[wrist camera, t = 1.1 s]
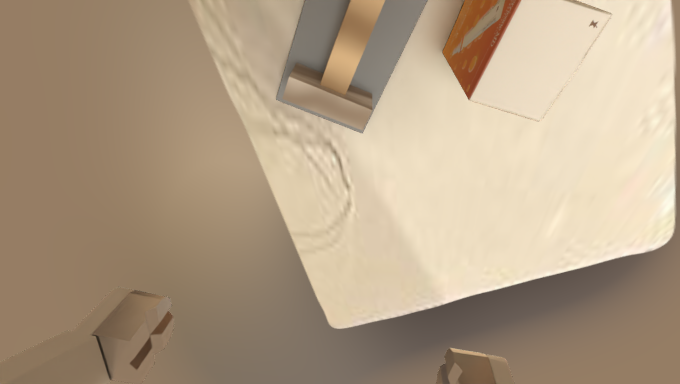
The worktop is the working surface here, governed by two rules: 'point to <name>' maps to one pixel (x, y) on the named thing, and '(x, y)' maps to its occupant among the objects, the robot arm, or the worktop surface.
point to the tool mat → (380, 52)
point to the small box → (521, 50)
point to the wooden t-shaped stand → (339, 71)
